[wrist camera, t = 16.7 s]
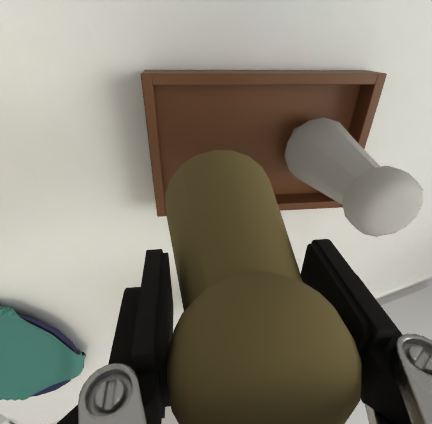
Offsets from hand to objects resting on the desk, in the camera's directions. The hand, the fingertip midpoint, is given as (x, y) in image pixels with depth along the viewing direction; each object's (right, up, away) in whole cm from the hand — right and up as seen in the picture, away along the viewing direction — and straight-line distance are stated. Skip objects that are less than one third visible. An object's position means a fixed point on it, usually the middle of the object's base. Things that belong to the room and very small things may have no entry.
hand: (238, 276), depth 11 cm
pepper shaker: (-1, +3, +5) cm, 6 cm away
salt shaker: (+8, +9, +17) cm, 21 cm away
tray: (+3, +9, +17) cm, 19 cm away
